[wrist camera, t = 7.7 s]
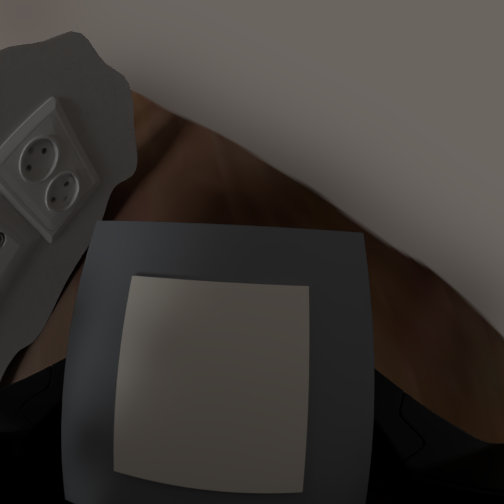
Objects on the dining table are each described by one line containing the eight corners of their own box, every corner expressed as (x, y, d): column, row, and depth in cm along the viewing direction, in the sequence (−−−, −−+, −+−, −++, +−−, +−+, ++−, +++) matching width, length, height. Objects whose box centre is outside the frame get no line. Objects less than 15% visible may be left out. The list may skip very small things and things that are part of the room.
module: (279, 433, 12) (362, 534, 2) (187, 426, 12) (62, 501, 2) (283, 337, 15) (364, 225, 5) (194, 332, 15) (96, 213, 5)
